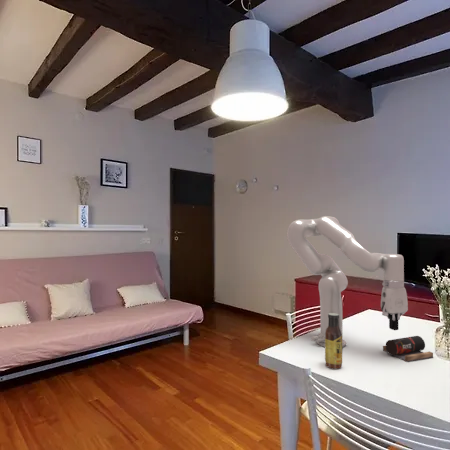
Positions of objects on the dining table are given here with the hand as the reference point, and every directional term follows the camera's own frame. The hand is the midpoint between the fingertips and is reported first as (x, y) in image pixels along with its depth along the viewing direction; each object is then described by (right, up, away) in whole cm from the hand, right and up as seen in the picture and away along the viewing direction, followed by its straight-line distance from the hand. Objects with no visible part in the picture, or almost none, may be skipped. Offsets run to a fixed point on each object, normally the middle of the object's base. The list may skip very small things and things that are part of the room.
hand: (393, 329), depth 141 cm
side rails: (+7, -11, +2) cm, 13 cm away
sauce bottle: (-27, -12, -9) cm, 31 cm away
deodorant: (-1, -8, 0) cm, 8 cm away
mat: (+7, -11, +2) cm, 13 cm away
